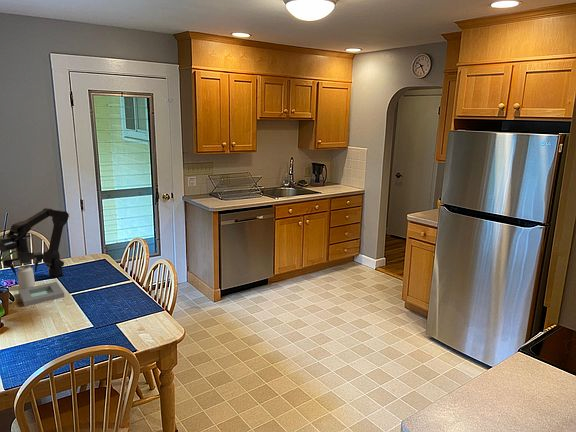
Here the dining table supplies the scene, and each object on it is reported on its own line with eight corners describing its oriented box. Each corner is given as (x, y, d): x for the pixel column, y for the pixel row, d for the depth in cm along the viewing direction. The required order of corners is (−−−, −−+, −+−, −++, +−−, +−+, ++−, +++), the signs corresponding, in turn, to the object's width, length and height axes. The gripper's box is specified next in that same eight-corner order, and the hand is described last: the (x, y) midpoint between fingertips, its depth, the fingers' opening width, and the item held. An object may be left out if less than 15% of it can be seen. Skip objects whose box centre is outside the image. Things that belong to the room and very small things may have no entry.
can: (22, 291, 223) (19, 270, 220) (17, 287, 228) (14, 266, 225) (37, 286, 229) (34, 266, 226) (31, 283, 233) (29, 263, 230)
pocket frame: (56, 285, 231) (56, 281, 230) (64, 297, 217) (64, 292, 217) (19, 294, 219) (18, 289, 219) (24, 306, 206) (24, 301, 205)
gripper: (2, 254, 211) (7, 282, 215) (44, 247, 222) (47, 274, 226) (0, 248, 219) (4, 275, 223) (40, 242, 231) (43, 268, 235)
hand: (25, 273), depth 226 cm, fingers open, 9 cm apart
